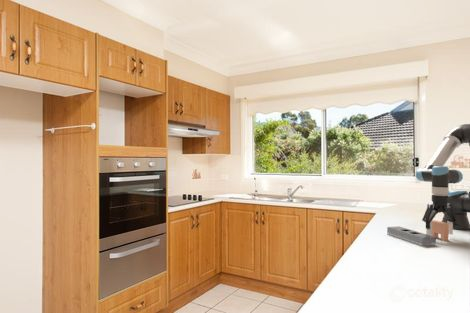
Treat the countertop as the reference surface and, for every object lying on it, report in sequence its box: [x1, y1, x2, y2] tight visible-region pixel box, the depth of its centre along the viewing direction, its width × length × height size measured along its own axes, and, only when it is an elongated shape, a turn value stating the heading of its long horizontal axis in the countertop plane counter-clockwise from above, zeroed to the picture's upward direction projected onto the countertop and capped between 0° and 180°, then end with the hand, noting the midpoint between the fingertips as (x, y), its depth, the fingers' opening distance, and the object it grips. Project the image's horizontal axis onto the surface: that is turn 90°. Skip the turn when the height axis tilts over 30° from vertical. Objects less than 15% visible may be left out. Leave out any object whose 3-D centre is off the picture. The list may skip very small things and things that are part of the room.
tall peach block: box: [431, 219, 450, 242], centre depth 165 cm, size 3×8×9 cm, turn 13°
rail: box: [387, 226, 437, 247], centre depth 163 cm, size 8×24×4 cm, turn 13°
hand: (439, 234), depth 165 cm, fingers open, 13 cm apart
